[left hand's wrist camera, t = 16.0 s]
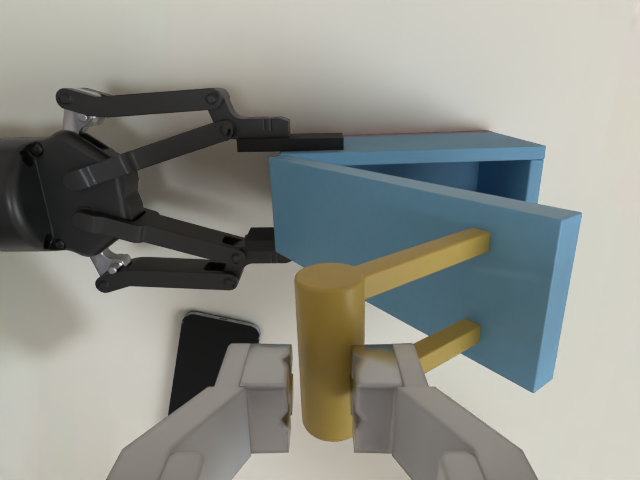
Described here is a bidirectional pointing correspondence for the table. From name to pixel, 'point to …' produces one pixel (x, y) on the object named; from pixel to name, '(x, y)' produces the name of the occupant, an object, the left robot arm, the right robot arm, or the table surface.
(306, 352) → the lid
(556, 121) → the table surface
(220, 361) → the smartphone
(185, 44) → the table surface
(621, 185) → the table surface
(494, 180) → the chest
